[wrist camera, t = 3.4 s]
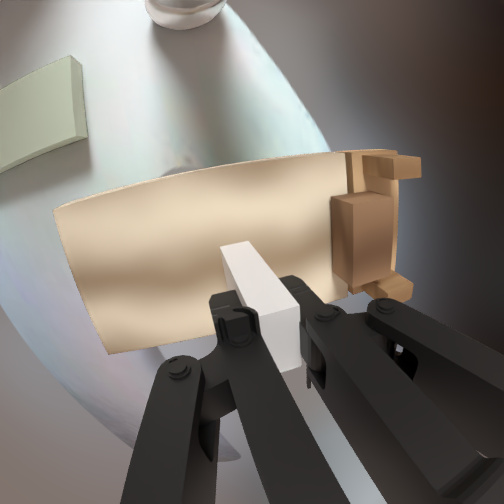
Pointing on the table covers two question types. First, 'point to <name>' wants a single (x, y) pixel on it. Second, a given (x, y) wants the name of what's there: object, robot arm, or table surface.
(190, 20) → the plastic bottle
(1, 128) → the block
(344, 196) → the block
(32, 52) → the table surface
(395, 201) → the toolbox
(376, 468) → the robot arm
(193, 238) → the lid
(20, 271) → the table surface
